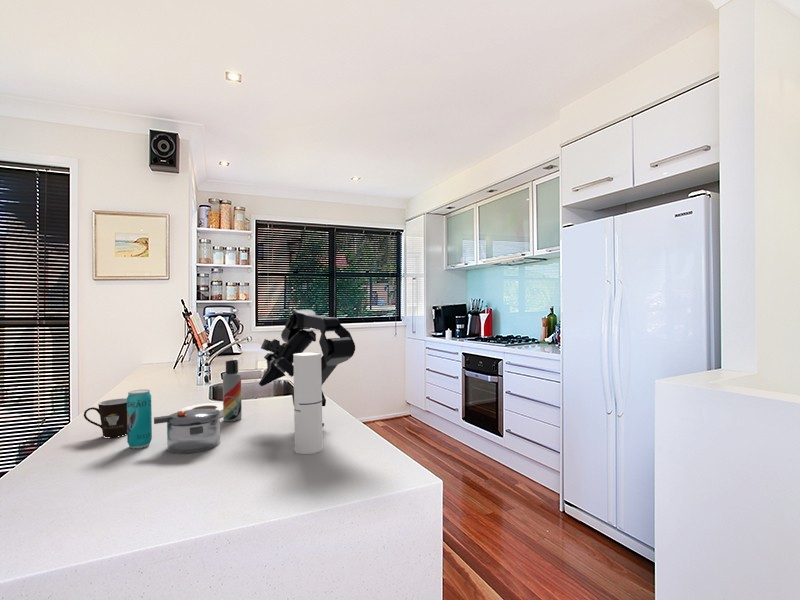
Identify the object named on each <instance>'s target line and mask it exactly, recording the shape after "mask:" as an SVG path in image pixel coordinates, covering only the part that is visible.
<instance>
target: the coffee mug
mask: <svg viewBox="0 0 800 600" xmlns="http://www.w3.org/2000/svg"><path fill="white" fill-rule="evenodd" d="M97 405H98V408H97V407H94V406H93V407H89V408H87V409H86V410H84V412H83V418H84V419H85V420H86V421H87V422H89V423H90V424H93V425H95V426H97V427H99V428H100V429H101V430H102V431H101V432H102V437H103V436H105V437H118V436H122V435H125V434H127V397H125V398H124V397H123V398H114V399H113V398H112V399H108V400H102V401H99V402H98V403H97ZM92 410H93V411H96V412H97V413H98V415H99V417H100V423H98V422H95V421H93V420H91V419H90V418H88V417H87V413H88V412H89V411H92ZM125 436H126V435H125ZM122 437H123V436H122ZM118 438H119V437H118Z"/></svg>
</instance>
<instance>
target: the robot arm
mask: <svg viewBox="0 0 800 600" xmlns="http://www.w3.org/2000/svg"><path fill="white" fill-rule="evenodd" d="M316 313H317V312H315V311H314V310H313V309H299V310H298V309H297V310H296V309H295V310H294V309H293V310H292V311H291V313H290V314H289V316H288V318H287V321H286V323H285V324H284V326H285V327H284V329H283V330H282V332H281V333H280V337H281V339H282V341H283V343H280V340H278V339H276V338H274V339H272V340H269V339H266V338H265V339H264V340H263V341H262V344H261V347H260V349H261V350H264V351H267V353H266V355H264V357H263V358H264V359H265V360H266V364H267V366H266V367H267V368H266V370H265V372H264V373H263V375H262V377H261V378H260V380H259V383H258V385H259V386H260V387H264V386H266V385H268V384H270V383H272V382H274V381H277V380H278V379H281V378H282V377H286V374H285V373H287V374H288V376H290V377H291V378H293V377H294V361H293V354H297V353H304V351H305V350H306V349H307V348H308V347H309V346H310V344H312V343H313V342H317V334H316V332H315V331H314V330H317V331H318V330H319V331H320V337H319V339H318V340H319V341H318V343H319V346H320V349H321V354H322V355H321V374H322V385H324V383H326V381H327V379H328V378H329V376H331V374H332V373H333V371H334V370H335V369H336V368H337V366H338V365H341V364H343V363H344V362H347V361H348V360H350V359H351V358H352V357H353V356H354V354H355V352H356V344H355V342H354V339H353V337H352V335H351V332H350V331H348V329H346V328H345V327H344V326H343V325H342V323H341V321H340V319H339V318H337V317H335V316H331V317H329V316H325V315H319V314H316ZM310 329H314V330H310ZM326 332H334V333H335V334H336V335H337V336H338V337H331V338H327V337H326ZM268 352H269V353H268ZM291 397H292V404H293V406H294V387H293V388H292V390H291ZM326 403H327V400H326V396H325V394H324V392H323V391H322V407H326ZM323 426H325V423H324V422H322V427H323Z"/></svg>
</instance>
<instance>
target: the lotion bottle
mask: <svg viewBox="0 0 800 600" xmlns="http://www.w3.org/2000/svg"><path fill="white" fill-rule="evenodd" d="M222 404H223V417H222V418H223V421H224V422H227V421H231V422H236V420H237V421H240V420H241V419H242V418H243V417H242V415H243V414H242V411H243V409H242V373H240V372H239V360H238V359H231V360H226V361H225V373H223V375H222Z"/></svg>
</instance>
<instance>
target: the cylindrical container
mask: <svg viewBox="0 0 800 600" xmlns="http://www.w3.org/2000/svg"><path fill="white" fill-rule="evenodd" d="M321 358H322V352H311V351H310V352H302V353H297V354H293V361H294V362H293V366H294V375H293V388H294V405H293V410H294V413H293V417H294V422H293V423H294V425H293V426H294V452H295V453H296V454H298V455H299V454H300V455H313V454H317V453H319V452H321V451H323V447H324V446H323V445H324V444H323V438H324V437H323V426H322V423H323V406H322V392H323V389H322V387H323V384H322V374H321Z"/></svg>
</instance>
